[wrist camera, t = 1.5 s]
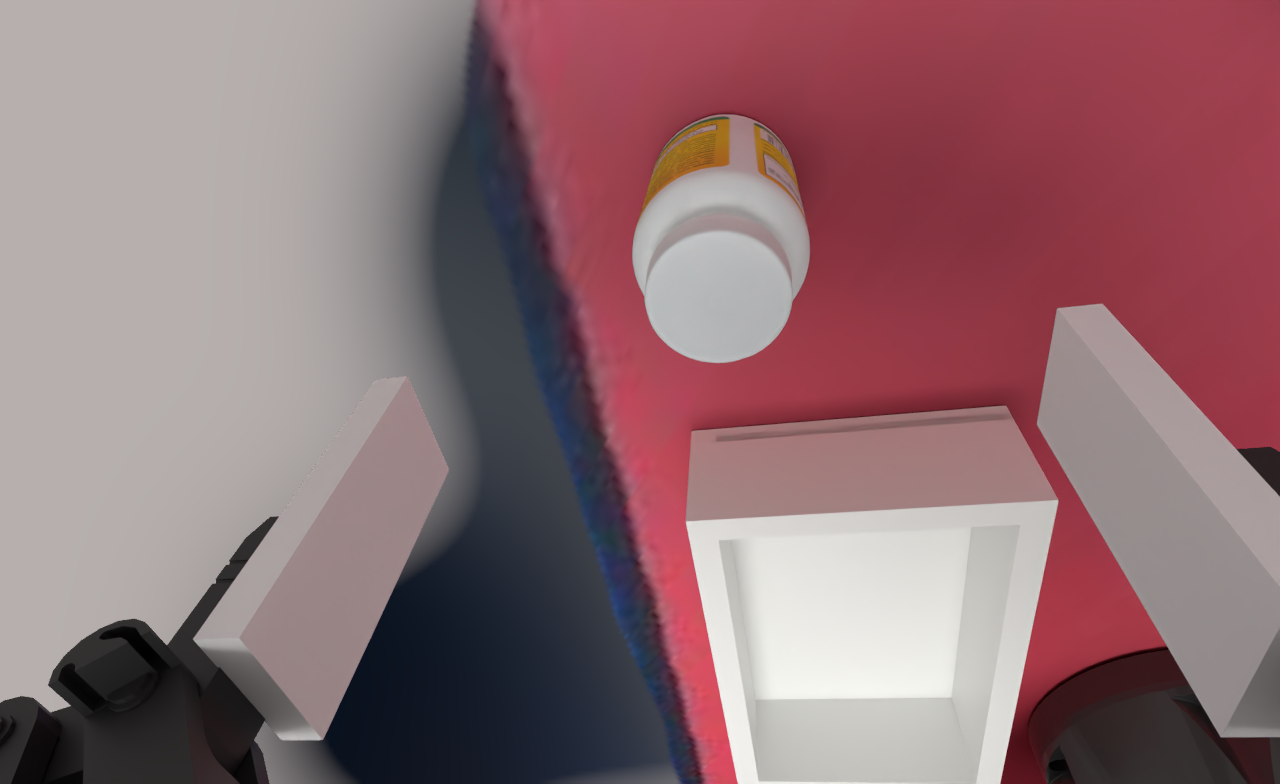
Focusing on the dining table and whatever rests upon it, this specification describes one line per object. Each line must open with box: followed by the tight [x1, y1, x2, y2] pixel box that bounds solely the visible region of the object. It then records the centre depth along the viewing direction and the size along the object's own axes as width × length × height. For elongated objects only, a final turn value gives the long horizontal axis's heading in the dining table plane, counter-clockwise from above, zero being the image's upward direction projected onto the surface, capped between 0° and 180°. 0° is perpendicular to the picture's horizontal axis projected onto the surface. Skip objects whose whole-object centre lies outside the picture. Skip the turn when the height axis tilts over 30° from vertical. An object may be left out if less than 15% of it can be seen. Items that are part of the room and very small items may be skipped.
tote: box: [686, 405, 1059, 784], centre depth 36 cm, size 22×14×6 cm, turn 10°
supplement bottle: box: [632, 114, 810, 363], centre depth 23 cm, size 5×5×10 cm
